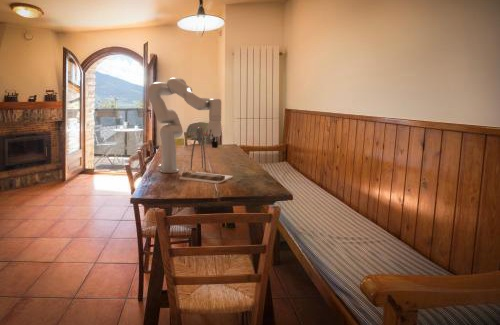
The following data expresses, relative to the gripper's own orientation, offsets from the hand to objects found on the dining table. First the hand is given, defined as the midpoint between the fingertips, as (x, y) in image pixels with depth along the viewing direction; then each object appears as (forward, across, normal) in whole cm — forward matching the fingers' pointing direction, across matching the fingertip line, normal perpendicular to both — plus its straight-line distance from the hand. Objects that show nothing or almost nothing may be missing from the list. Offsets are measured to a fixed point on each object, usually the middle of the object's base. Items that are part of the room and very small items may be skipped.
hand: (214, 147), depth 235 cm
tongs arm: (+17, +11, +1) cm, 20 cm away
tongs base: (+18, +14, -1) cm, 23 cm away
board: (+19, +8, -1) cm, 20 cm away
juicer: (+19, -16, -21) cm, 32 cm away
